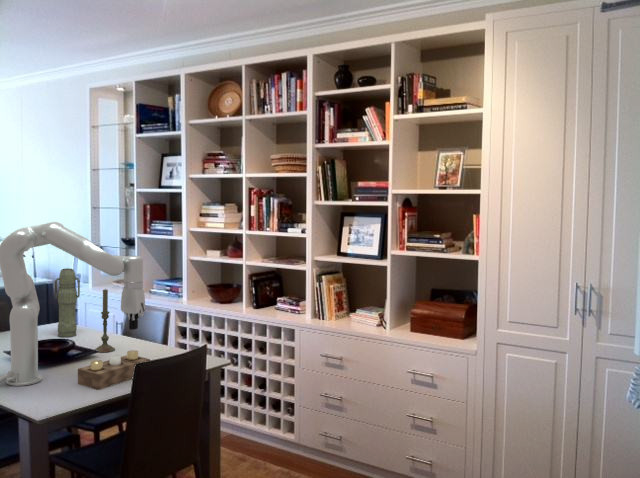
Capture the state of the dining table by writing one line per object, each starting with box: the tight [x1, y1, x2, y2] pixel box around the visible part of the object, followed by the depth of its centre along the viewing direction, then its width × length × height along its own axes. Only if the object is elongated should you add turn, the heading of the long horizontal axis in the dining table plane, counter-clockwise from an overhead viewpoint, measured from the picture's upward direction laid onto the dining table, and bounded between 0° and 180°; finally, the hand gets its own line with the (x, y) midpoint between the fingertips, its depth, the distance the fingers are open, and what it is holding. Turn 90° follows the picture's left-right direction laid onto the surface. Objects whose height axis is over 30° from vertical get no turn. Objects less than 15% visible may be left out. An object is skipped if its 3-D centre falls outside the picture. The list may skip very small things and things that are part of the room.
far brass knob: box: [126, 349, 139, 361], centre depth 240 cm, size 4×4×6 cm
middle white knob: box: [108, 354, 122, 366], centre depth 233 cm, size 4×4×6 cm
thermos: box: [54, 267, 81, 339], centre depth 297 cm, size 9×12×35 cm
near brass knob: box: [90, 359, 104, 372], centre depth 225 cm, size 4×4×6 cm
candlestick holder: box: [94, 288, 116, 354], centre depth 272 cm, size 9×9×30 cm
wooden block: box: [77, 354, 151, 391], centre depth 233 cm, size 26×12×6 cm, turn 150°
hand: (133, 328), depth 239 cm, fingers closed
